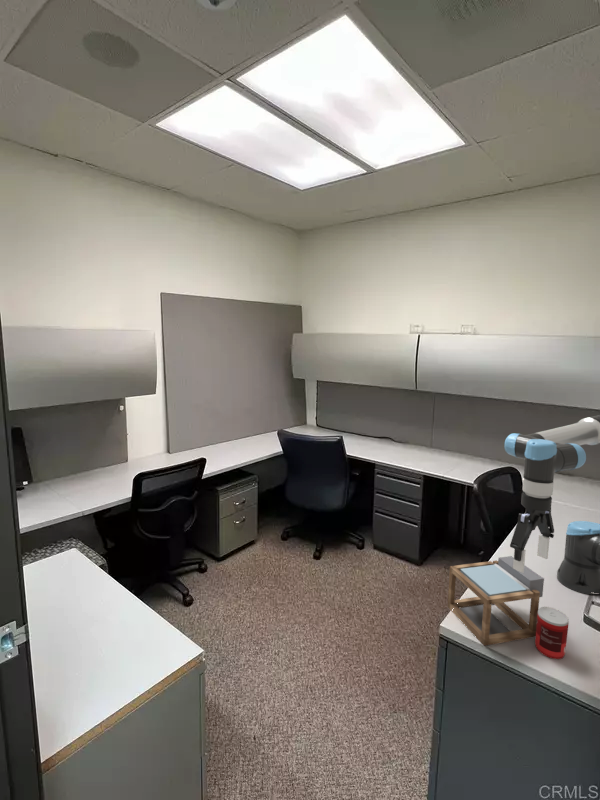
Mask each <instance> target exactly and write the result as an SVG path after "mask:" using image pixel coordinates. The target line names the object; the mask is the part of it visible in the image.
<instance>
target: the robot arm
mask: <svg viewBox="0 0 600 800" xmlns="http://www.w3.org/2000/svg"><path fill="white" fill-rule="evenodd" d="M583 445H589V446H595V445H600V414H599V415H594V416H593V415H592V416H588V417H584V418H581V419H580V420H579V421H577V422H575V423H572V424H568V425H564V426H559V427H555V428H551V429H547V430H546V429H545V430H542V431H537V432H532V433H529V434H522V433H515V432H514V433H510V434H509V435H507V437H506V438H505V440H504V451H505V453H507V454H508V455H510V456H512V457H515V458H516V459H522V460H524V465H523V466H524V468H523V478H522V480H521V481H522V492H521V499H520V501H521V502H520V504H521V505H522V507H524V508H525V512H524V513H521V512H520V513H518V517H517V523H516V526H515V528H514V532H513V536H512V537H511V540H510V544H509V547H510V548H512V549H514V553H513V558H514V562H513V569H515V570H517V571H520V572H522V573H523V572H524V565H525V561H526V549H525V548H526V546H527V543H528V541H529V539H530V537H531V534H532V532H533V531H534V530H536V527H537V528H538V530H539V532H540V534H539V535H538V544H537V552H536V553H537V556H538V557H541V558H542V559H545V560H547V559H549V549H550V538H551V539H553V538H554V536H555V534H554V533H555V527H554V523H553V517H552V501H553V498H552V496H553V492H554V477H555V473H558V472H563V471H573V470H576V469H580V468H581V467H583V466H584V464H585V463H586V460H587V455H586V451H585V449H584V448H583V447H582V446H583ZM565 534H566V535H565V544H564V545H565V547H564V557H563V560H562V562H561V563H560V565H559V568H558V569H557V571H556V579H557V581H558V582H559V583H560V584H562V585H563V586H564V587H566V588H568V589H571V590H573V591H575V592H578V593H581V594H587V595H590V594H589V593H591V592H594V593H600V523H598V522H594V521H589V520H588V521H587V520H576V521H571V522H569V523H568V524H567V529H566V532H565Z"/></svg>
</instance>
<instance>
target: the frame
mask: <svg viewBox="0 0 600 800" xmlns="http://www.w3.org/2000/svg"><path fill="white" fill-rule="evenodd" d="M494 564H497V565H498V560H492V561H491V560H490V561H482V562H474V563H473V562H472V563H465V564H458V565H450V566H449V575H448V588H447V590H448V592H447V608H448V609H449V610H450V611H451V612H452V613H453V614H454V615H455V616H456V618H459V619H460V620H461V621H462V622H463V623H462V622H461V621H460V620H459V619H458V620H459V621H460V622H461V623H462V624H463V625H464V624H465V625H464V627H466V626H467V627H466V629H468V631H469V632H470V633H473V634H474V635H475V636H476V637H475V636H474V635H473V634H472V635H473V636H474V637H475V638H476V639H477V640H478V642H480V644H482V646H491V645H498V644H502V643H508V642H512V641H513V642H515V641H521V640H525V639H531V638H535V636H536V625H537V614H538V609H539V608H540V598H541V597H540V592H539V591H537V590H532V592H531V591H530V590H529V591H523V592H516V593H509V594H502V595H495V596H487V595H486V594H485V593H484V592H483V591H482V590H481V589H479V588H478V587H477V586H476V585H475V584H474V583H473V582H472V581H470V580H469V579H468V578H467V577H466V576H465V575H464V574H463V573H461V572H460V569H464V568H471V567H479V566H487V565H494ZM456 579H458V580H459V581H460V582H461V583H462V584H464V585H465V586H466V587H467V588H468V589H469V590H470V591H471V592H472V593H473V594H474V595H476V596H473V597H467V598H460V599H461V600H460V599H459V598H458V599H455V598H456V597H455V596H456V583H457V582H456V581H457V580H456ZM530 598H531V599H530ZM529 599H530V607H529V616H528V617H529V619H528V622H527V621H526V620H525V619H524V618H522V617H521V616H520V615H518V614H517V612H515V611H514V610H513V609H512V608H511V607H509V605H507V604H506V603H508V602H515V601H523V600H529ZM457 603H458V604H457ZM492 605H495V606H496V607H497V608H498V609H499V610H500V611H501V612H502V613H503V614H505V615H506V616H507V617H508V618H509V619H511V621H512V622H514V623H515V624H516V625H517V626H518V627H519V628H521V629H517V630H516V629H515V630H511V629H509V628H508V626H506V625H505V624H504V623H503V622H502V621H501V620H500V619H499V618H498V617H497V616H495V615H494V614H493V613H492ZM453 608H454V609H453ZM452 609H453V611H452Z"/></svg>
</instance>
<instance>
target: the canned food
mask: <svg viewBox="0 0 600 800" xmlns="http://www.w3.org/2000/svg"><path fill="white" fill-rule="evenodd" d="M569 623H570V621H569V617H568V616H567V615H566V613H564V612H563V611H561V610H560V609H556V608H554V607H550V606H541V607H539V608H538V614H537V625H536V636H535V637H534V640H535V641H534V644H535V648H536V650H538V652H539V653H540V654H542V655H543V656H545V657H547V658H550V659H554V660H561V659H563V658H564V657H565V655H566V651H567V641H568V634H569V633H568V631H569Z"/></svg>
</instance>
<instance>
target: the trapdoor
mask: <svg viewBox="0 0 600 800" xmlns="http://www.w3.org/2000/svg"><path fill="white" fill-rule="evenodd" d="M497 561H498V565H497V564H494V565H487V566H479V567H471V568H464V569H460V572H461V573H463V574H464V575H465V576H466V577H467V578H468V579H469V580H470V581H472V582H473V583H474V584H475V585H476V586H477V587H478V588H479V589H481V590H482V591H483V592H484V593H485V594H486V595H487V596H495V595H502V594H509V593H516V592H523V591H529V590H530V591H531V592H532V590H537V591H539V592H540V597H539V598H543V594H544V593H543V592H544V586H545V585H544V583H545V582H544V581H545V578H544V577H543V576H541V575H539V574H538V573H537V572H535V571H534V570H532V569H531V568H529V567H528V566H527V565H525V564H524V572H523V573H522V572H520V571H517V570H515V569H513V562H514V556H512V555H509V556H501V557H500V556H499V557H498V560H497ZM530 600H531V598H530Z"/></svg>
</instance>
